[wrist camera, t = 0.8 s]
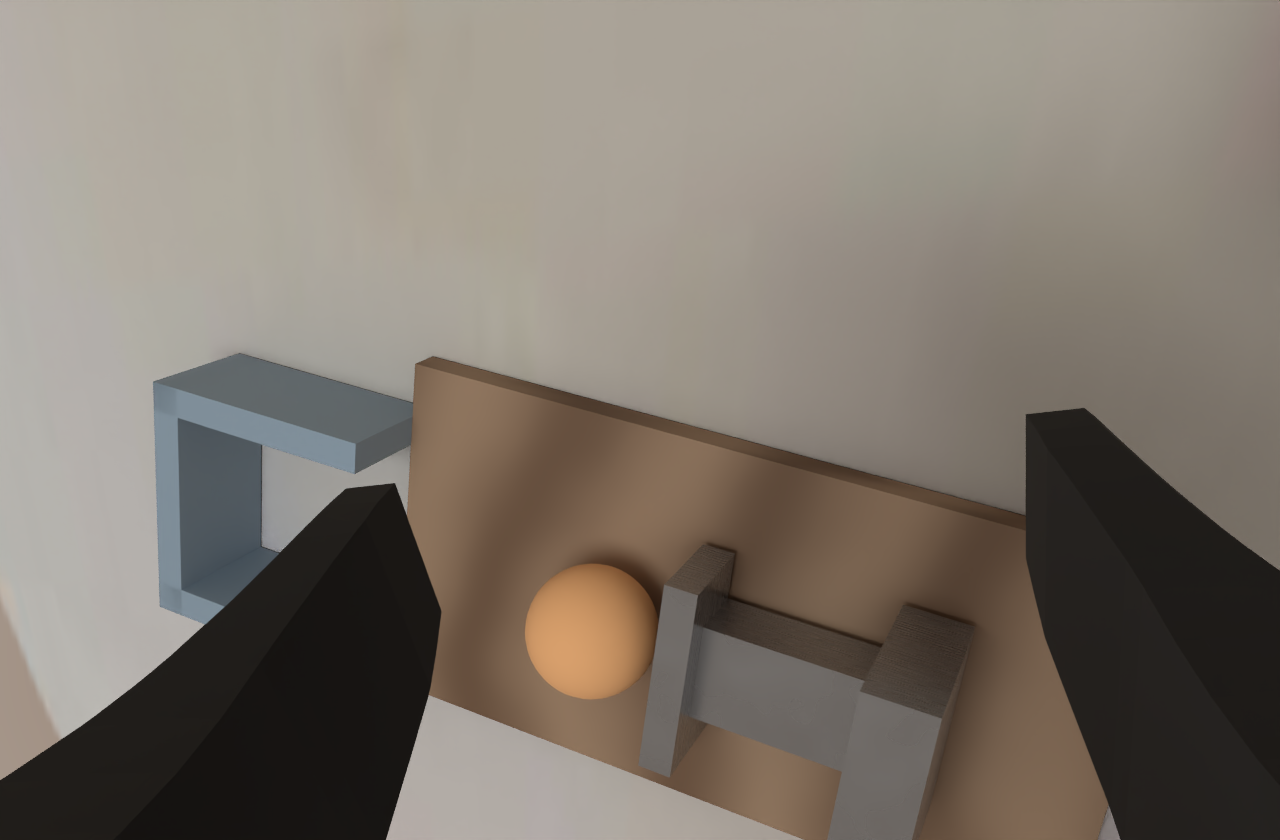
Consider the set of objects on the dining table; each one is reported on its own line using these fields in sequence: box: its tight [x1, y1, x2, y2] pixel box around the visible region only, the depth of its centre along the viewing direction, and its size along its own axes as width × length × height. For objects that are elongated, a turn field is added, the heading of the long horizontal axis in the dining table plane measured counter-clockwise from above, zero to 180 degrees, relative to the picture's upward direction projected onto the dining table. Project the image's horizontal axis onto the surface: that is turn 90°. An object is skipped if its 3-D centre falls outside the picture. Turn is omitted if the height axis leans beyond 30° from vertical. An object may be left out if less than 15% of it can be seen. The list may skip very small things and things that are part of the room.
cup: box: [153, 353, 413, 624], centre depth 40 cm, size 8×8×4 cm
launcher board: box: [407, 357, 1109, 840], centre depth 36 cm, size 23×12×1 cm, turn 82°
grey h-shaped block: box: [638, 544, 975, 840], centre depth 32 cm, size 8×6×5 cm
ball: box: [525, 564, 658, 700], centre depth 35 cm, size 4×4×4 cm
